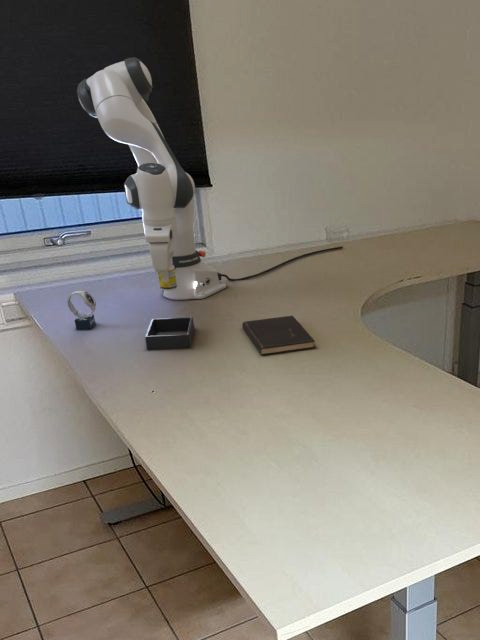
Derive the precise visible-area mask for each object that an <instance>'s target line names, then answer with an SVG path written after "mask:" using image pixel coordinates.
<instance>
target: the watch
mask: <svg viewBox="0 0 480 640" xmlns="http://www.w3.org/2000/svg"><path fill="white" fill-rule="evenodd" d="M74 295H78V296H79V297H81V300H82V302H83V303H84V304H85V305H86V306H87V307H88V308H90V310H91V312H90V313H79V311H78V310H77V309H76V308H75V305H74V304H73V303H72V301H71V298H72V296H74ZM66 303H67V308H68V309H69V311H70V312H71V313H72V314H73V315H74V317H75V318H74V323H75V325H74V326H75V329H76V331H89V330H90V331H91V330H92V329H93V328H94V326H95V325H96V320H95V314H94V313H95V310H96V307H97V306H96V305H97V303H96V300H95V298H94V297H93V295H92V294H91V293H89V292H88V291H85V290H75V291H73V292H72V293H71V294H69V296H68V297H67V301H66Z"/></svg>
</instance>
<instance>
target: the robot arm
mask: <svg viewBox="0 0 480 640" xmlns="http://www.w3.org/2000/svg"><path fill="white" fill-rule="evenodd" d="M152 90H153V80H152V75H151V73H150V71H149V69H148V67H147V66H146V65H145V64H144V63H143V62H142V61H141V59H140V58H138V57H128V58H124V60H123V61H119V62H116V63H113V64H110V65H108V66H105V67H104V68H103V69H101V70H98V71H96V72H95V73H94V74H93V75H91V76H90V77H88V78H84V79H83V80H82V81H81V82H80V83H78V85H77V89H76V94H77V98H78V101H79V103H80V105H81V107H82V109H83V110H84V111H85V112H86V113H87V114H88V115H89V116H90V117H93V118H95V119H97V120H98V123H99V124H100V127H101V128H102V130H103V132H104V133H105V134H106V135H107V136H108V138H110V139H112V140H114V141H115V142H118V143H119V144H120V143H121V144H125V145H127V146H128V147H129V149H130V152H131V153H132V155H133V157H134V159H135V161H136V164H137V169H136V173H134V174H131V175H130V174H129V176H128V177H126V179H125V182H124V183H123V188H124V195H125V201H126V204H128V205H129V207H131V208H132V209H134V210H136V211H141V212H142V213H141V214H142V216H141V219H142V225H143V232H144V233H143V234H144V238H145V243H148V249H149V254H150V259H151V262H152V267H153V270H154V272H157V273H158V272H160V273H161V276H162V281H163V282H164V283H166V282H169V274H168V269H169V266H170V263H171V258H172V262H173V264H172V265H174V267H175V275H176V282H177V289H175V290H171V291H163V294H162V296H163V297H164V298H167V299H169V300H177V301H179V300H180V301H181V300H183V301H184V300H203V299H205V298H207V297H210V296H211V295H214V294H216V293H218V292H220V291H222V290H224V289H226V288H227V284H226V283H225V282H223V281H222V277H224V278H226V279H227V281H230V282H236V281H245V280H248V279H252V278H256V277H260V276H261V275H264V274H266V273H269V272H270V271H273V270H275V269H277V268H280V267H281V266H283V265H287V264H288V263H290V262H293V261H295V260H298V259H301V258H303V257H307V256H311V255H315V254H319V253H324V252H329V251H334V250H340V249H343V248H344V247H343V246H336V247H330V248H325V249H324V248H323V249H319V250H316V251H311V252H308V253H304V254H301V255H298V256H295V257H293V258H290V259H288V260H286V261H283V262H281V263H279V264H277V265H275V266H273V267H270V268H268V269H266V270H262V271H260V272H259V273H256V274H253V275H252V274H251V275H247V276H245V277H240V278H230V277H229V276H228V275H227V274H224V273H221V272H218V271H217V270H216V269H215V268H214V267H211V266H210V265H208V264H207V263H205V262H204V261H203V260H202V259H201V258H205V257H206V256H207V252H206V251H205V250H197V249H196V242H195V233H194V205H195V204H194V203H195V201H194V198H195V197H194V196H195V189H196V186H195V182H194V181H195V180H194V179H193V177H192V176H191V175H190V174H189V173H188V172H186V171H185V170H184V169H183V167H182V166H181V164H180V162H179V161H178V160H177V158H176V156H175V154H174V152H173V151H172V149H171V147H170V146H169V144H168V141H166V138H165V136H164V135H163V132H162V130H161V128H160V126H159V124H158V122H157V120H156V118H155V115H154V114H153V112H152V111H151V109H150V107H149V106H148V104H147V102H149V96H150V95H151V93H152Z"/></svg>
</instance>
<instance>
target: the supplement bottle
mask: <svg viewBox="0 0 480 640" xmlns="http://www.w3.org/2000/svg"><path fill="white" fill-rule="evenodd" d="M172 264H173V262H172V258H171V263H170V266H169V269H168V274H169V282H166V283H164V282H163V281H162V276H161V273H160V272H157V274H158V281H159V287H160V288H159V289H160V290H161V291H163V292H164V291H171V290H175V289H177V282H176V275H175V267H174V265H172Z"/></svg>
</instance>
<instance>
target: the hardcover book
mask: <svg viewBox="0 0 480 640" xmlns="http://www.w3.org/2000/svg"><path fill="white" fill-rule="evenodd" d="M242 329H243V330H244V332H245V334H247V336H248V338H249V339H250V341H251V342H252V344H253V345H254V347H255V348H256V349H257V351H258V353H259V354H260V355H261V356H263V357H264V356H269V355H270V356H271V355H278V354H284V353H285V354H286V353H291V352H298V351H305V350H312V349H316V346H315V345H314V343H315V342H316V341H315V339H314V338H313V337H312V335H310V333H309V332H308V331H307V330H306V329H305V328H304V327H303V326H302V324H301V323H300V322H299V321H298V320H297V319H296V317H294V315H286V316H285V315H284V316H279V317H278V316H277V317H271V318H262V319H254V320H247V321H243V322H242Z"/></svg>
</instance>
